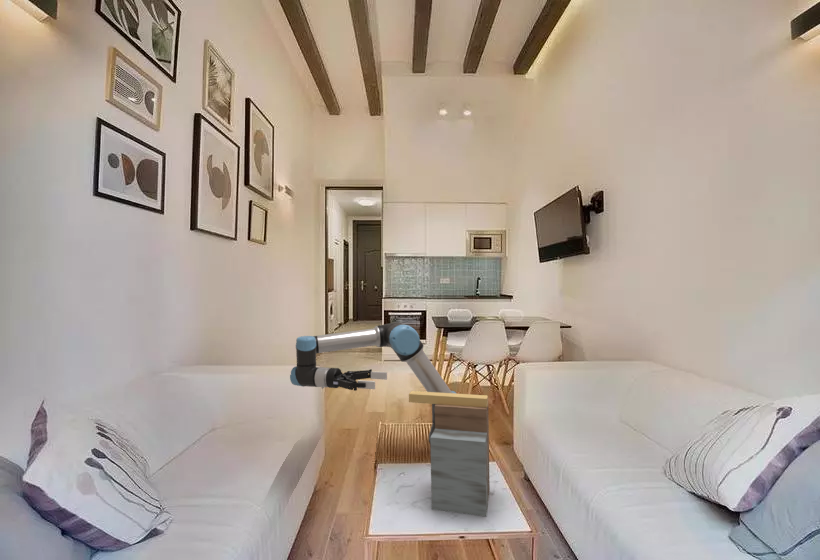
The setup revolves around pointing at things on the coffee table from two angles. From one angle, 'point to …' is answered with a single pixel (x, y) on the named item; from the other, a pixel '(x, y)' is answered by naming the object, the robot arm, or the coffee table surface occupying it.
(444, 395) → the ochre batten
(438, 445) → the stepped stand
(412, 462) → the coffee table surface
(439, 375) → the robot arm
